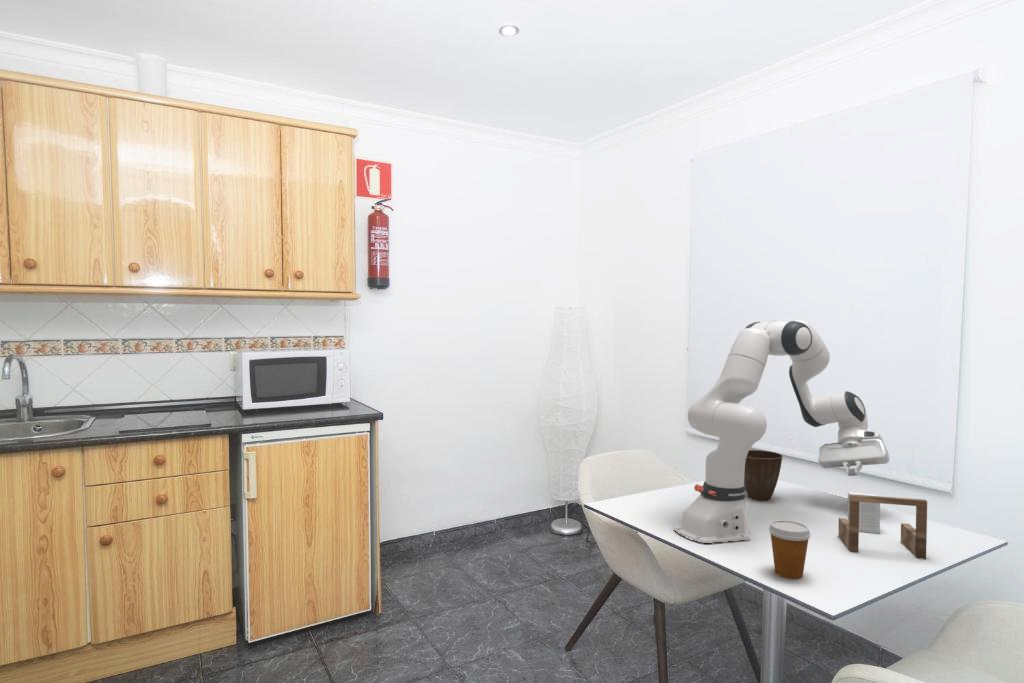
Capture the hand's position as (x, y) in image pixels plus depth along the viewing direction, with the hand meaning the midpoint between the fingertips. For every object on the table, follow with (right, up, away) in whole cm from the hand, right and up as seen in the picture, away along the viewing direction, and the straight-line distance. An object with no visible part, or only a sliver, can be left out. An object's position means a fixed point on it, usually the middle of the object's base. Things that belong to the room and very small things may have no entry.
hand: (852, 474), depth 185 cm
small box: (-2, -15, -9) cm, 18 cm away
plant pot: (-20, -14, +23) cm, 33 cm away
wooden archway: (-6, -15, -24) cm, 29 cm away
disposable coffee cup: (-40, -16, -41) cm, 59 cm away
